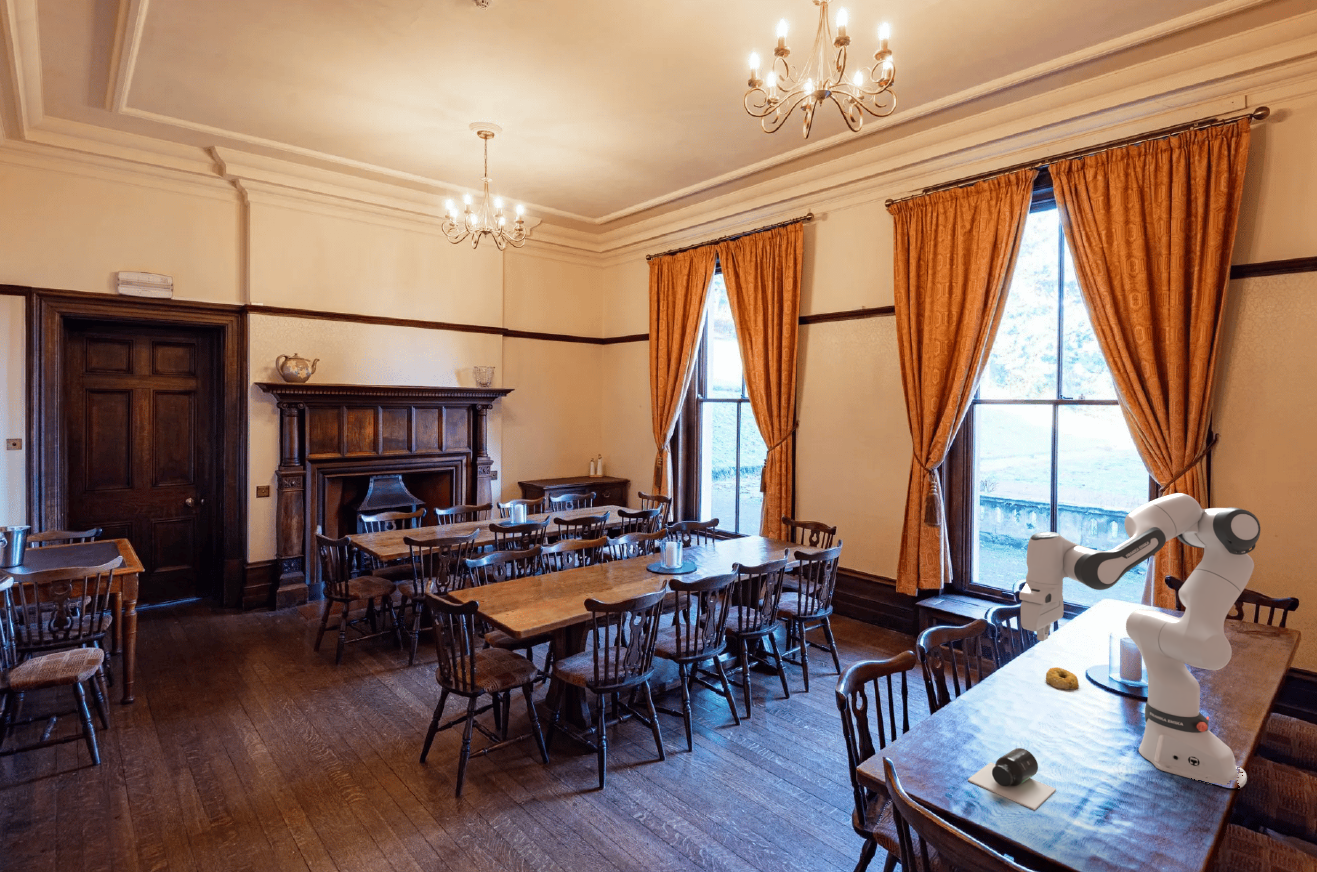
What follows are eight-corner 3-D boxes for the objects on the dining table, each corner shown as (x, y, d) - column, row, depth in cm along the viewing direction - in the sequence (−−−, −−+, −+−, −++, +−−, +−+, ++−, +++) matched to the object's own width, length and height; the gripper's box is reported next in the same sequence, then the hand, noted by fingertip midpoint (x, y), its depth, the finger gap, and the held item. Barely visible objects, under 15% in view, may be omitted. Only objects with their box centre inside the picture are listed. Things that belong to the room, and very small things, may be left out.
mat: (1056, 790, 164) (1056, 788, 164) (1034, 810, 156) (1034, 808, 156) (990, 763, 177) (990, 761, 177) (967, 780, 169) (967, 779, 169)
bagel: (1041, 685, 228) (1042, 671, 227) (1049, 676, 236) (1050, 663, 235) (1074, 694, 221) (1075, 680, 220) (1081, 684, 229) (1082, 671, 228)
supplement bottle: (1043, 775, 167) (1019, 791, 160) (1018, 775, 172) (994, 790, 166) (1032, 747, 169) (1008, 761, 162) (1007, 747, 174) (983, 761, 168)
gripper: (1046, 582, 192) (1045, 628, 193) (1016, 594, 179) (1015, 644, 180) (1070, 586, 187) (1069, 634, 188) (1041, 599, 174) (1040, 651, 175)
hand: (1042, 639), depth 184 cm, fingers closed
